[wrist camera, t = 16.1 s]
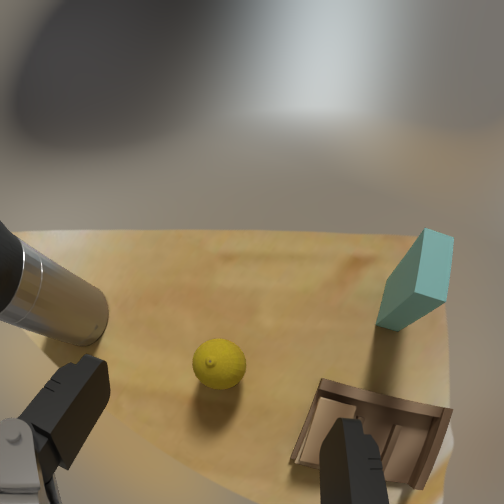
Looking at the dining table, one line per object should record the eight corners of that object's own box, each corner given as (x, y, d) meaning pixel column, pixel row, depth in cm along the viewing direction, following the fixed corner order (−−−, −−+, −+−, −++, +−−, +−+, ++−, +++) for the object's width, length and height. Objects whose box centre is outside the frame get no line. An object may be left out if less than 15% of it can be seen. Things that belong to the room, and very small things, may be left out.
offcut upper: (299, 457, 28) (299, 460, 27) (318, 398, 31) (319, 399, 29) (335, 464, 27) (336, 467, 26) (353, 405, 30) (356, 406, 28)
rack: (290, 456, 31) (290, 463, 27) (321, 378, 34) (323, 378, 31) (413, 482, 26) (422, 490, 23) (440, 407, 30) (453, 409, 26)
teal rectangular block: (375, 325, 35) (414, 291, 23) (387, 279, 37) (424, 227, 25) (397, 331, 35) (445, 301, 22) (408, 286, 36) (453, 237, 24)
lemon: (258, 377, 35) (248, 376, 28) (215, 395, 35) (194, 398, 27) (239, 336, 37) (224, 323, 30) (198, 354, 37) (174, 346, 30)
